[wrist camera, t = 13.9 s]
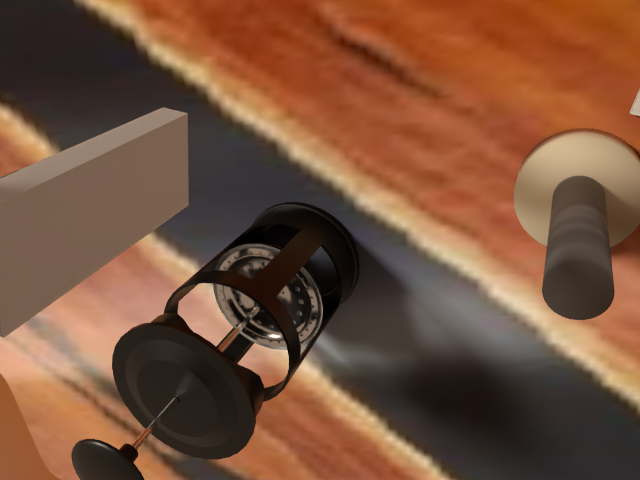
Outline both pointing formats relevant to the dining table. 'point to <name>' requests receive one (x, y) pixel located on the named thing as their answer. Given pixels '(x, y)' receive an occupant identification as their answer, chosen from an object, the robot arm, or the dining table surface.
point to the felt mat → (636, 105)
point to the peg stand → (579, 214)
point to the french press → (224, 343)
